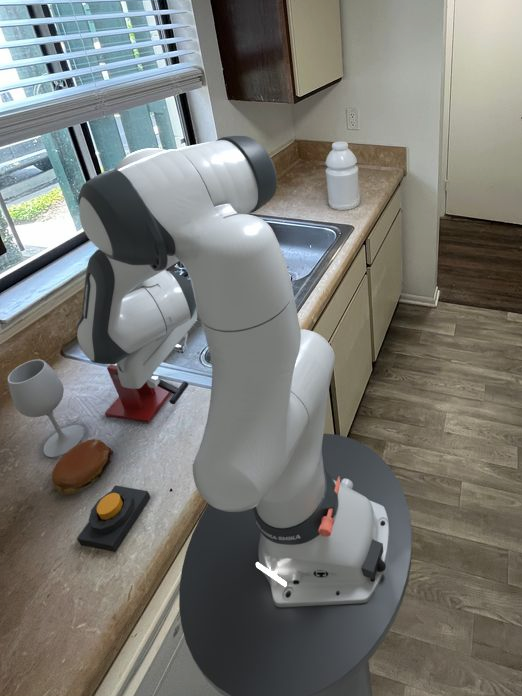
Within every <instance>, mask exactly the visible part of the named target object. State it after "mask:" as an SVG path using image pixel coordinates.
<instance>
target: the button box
mask: <svg viewBox="0 0 522 696" xmlns="http://www.w3.org/2000/svg"><path fill="white" fill-rule="evenodd" d="M111 493H117V494H119V496H120V498H121V500H122V502H123V504H122V508H121V510H120V511H119V512H118V514H117V515H115V516H114V517H113V518H111V519H108V520H102V519H101V518H100V517H99V515H98V513H97V505H98V503H99V502H100V501H101V499H103V498H104V497H105V496H106V495H108V494H111ZM150 500H151V496H150V493H149V491H148V490H145V489H138V488H132V487H127V486H122V485H116V484H115V485H114V486H113V488H112V489H111V490H110V491H109V492H107V493H106V494H104V495H103V496H102V497H101V498H99V499H97V501H96V503H95V504H94V506H92V508H91V510H90V514H89V517H88V522H87V524H86V525H85V526H84V528H83V529H82V530H81V532H80V533H79V534H78V536H77V537H76V540H77V542H78V543H79V545H80V546H82V547H87V548H90V549H91V548H93V549H97V550H101V551H107V552H112V553H117V551H118V550H119V548H120V547H121V545H122V544H123V542H124V540H125V539H126V537H127V535H128V534H129V532H130V531H131V529H132V528H133V527H134V525H135V523H136V522H137V520H138V519H139V517H140V516H141V514H142V512H143V511H144V509H145V508H146V506H147V504H148V503H149V501H150Z"/></svg>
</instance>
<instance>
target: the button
mask: <svg viewBox="0 0 522 696" xmlns="http://www.w3.org/2000/svg"><path fill="white" fill-rule="evenodd" d="M105 495H106V494H105ZM105 495H104V496H105ZM100 499H101V498H100ZM122 504H123V502H122V500H121V498H120V496H119V494H117V493H111V494H108V495H106V496H105V497H104V498H103V499H101V501H100V502H99V503H98V505H97V513H98V515H99V517H100V518H101V519H102V520H108V519H111V518H113V517H114V516H115V515H117V514H118V512H119V511H120V510H121V508H122Z"/></svg>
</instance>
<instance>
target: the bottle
mask: <svg viewBox="0 0 522 696" xmlns="http://www.w3.org/2000/svg"><path fill="white" fill-rule="evenodd" d="M324 163H325V166H327V168H325V179H326V187H327V189H326V190H327V196H328V197H327V198H328V205H329V206H330V208H332V209H334V210H339V211H347V210H351V209H355V208H356V207H358V206H359V205H360V203H361V196H360V195H361V194H360V179H359V177H360V176H359V167H358V166H357V165H356V164H357V163H358V159H357V157H356V155H355V153H354V152H352V150H351V149H350V148H349V143H348V142H347V141H344V140H343V141H342V140H339V141H335V142H333V143H332V144H331V150H330V151H329V153H328V154H327V156H326V159H325V161H324Z"/></svg>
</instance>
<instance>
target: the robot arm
mask: <svg viewBox="0 0 522 696" xmlns="http://www.w3.org/2000/svg"><path fill="white" fill-rule="evenodd" d="M277 184H278V175H277V170H276V167H275V163H274V161H273V159H272V157H271V155H270V154H269V152H268V151H267V150H266V148H265V147H264V146H263V145H262V144H260V143H259V142H258V141H256V139H254V138H252V137H251V136H247V135H230V136H221V137H219V138H217V139H216V140H213V141H207V142H202V143H196V144H192V145H188V146H184V147H180V148H177V149H174V148H170V149H163V148H157V147H156V148H154V147H150V148H142V149H139V150H135V151H133V152H131V153H129V154H128V155H126V156H124V157H123V158H122V159H121V160H120V161H119V162H118V164H117V165H116V167H115V168H114V167H113V168H109V169H107V170H105V171H103V172H101V173H100V174H97V175H95V176H93V177H92V178H90V179H89V180H87V181H86V182H85V183H83V184H82V186H81V188H80V190H79V193H78V196H77V202H78V215H79V222H80V224H81V227H82V230H83V232H84V233H85V235H86V237H87V238H88V240H89V241H90V242H91V243H92V244H93V245H94V246H95V247H96V248H97V249H96V250H95V251H94V252H93V254H92V255H91V256H90V257H89V259H88V262H87V267H86V270H85V279H84V289H83V298H82V299H83V300H82V309H81V310H82V311H81V316H80V318H79V320H78V323H77V326H76V331H77V333H76V337H77V342H78V345H79V347H80V350H81V352H82V353H83V355H84V356H85V357H86V358H87V359H89V360H90V362H91V363H93V364H99V365H108V366H109V365H117V370H118V375H119V379H120V383H121V385H122V386H123V387H125V388H130V389H139V388H141V387H142V386H143V385H144V384H145V382H147V384H148V386H149V387H150V388H156V387H157V385H158V384H159V383H160V380H159V379H160V376H157V375H154V373H155V372H156V370H158V368H159V367H160V365H162V363H163V362H164V361H165V360H166V359H167V357H168V356H169V355H170V354H171V353H172V352H173V350H174V349H175V350H176V353H177V354H185V352H186V350H187V349H188V345H187V341H188V337H189V336H188V335H189V333H188V332H189V331H190V330H191V329H192V327H193V326H194V325H195V323H197V319H198V316H199V320H200V323H201V326H202V330H203V333H204V337H205V340H206V344H207V348H208V353H209V356H210V361H211V387H210V398H209V407H208V413H207V419H206V423H205V428H204V431H203V435H202V439H201V442H200V445H199V448H198V451H197V453H196V456H195V457H194V461H193V463H192V477H193V481H194V485H195V488H196V489H197V492H198V493H199V495H200V496H201V498H202V499H203V500H204V501H205V502H206V503H207V505H208V504H210V505H211V506H213V507H215V508H217V509H219V510H222V511H226V512H241V511H246V510H249V509H252V508H253V509H254V514H255V518H256V523H257V525H258V528H259V530H260V532H261V537H260V541H259V548H258V555H259V562H260V564H259V563H258V562H257V563H256V566H257V568H259V569H260V570H262V571H263V573H264V575H265V576H266V578H267V579H268V581H269V583H270V585H271V592H272V598H273V602H274V604H275V605H276V606H277V607H298V606H318V605H337V604H357V603H366V602H368V601H369V599H370V598H371V597H372V595H373V594H374V592H375V591H376V589H377V587H378V585H379V583H380V580H381V577H382V575H383V571H384V570H385V568H386V565H385V564H386V558H387V553H388V546H389V522H388V517H387V513H386V510H385V508H384V507H383V506H382V505H380V504H377V503H375V502H372V501H370V500H368V499H367V498H366V497H365V496H363V495H361V494H359V493H358V492H356V491H354V490H352V488H353V483H352V482H351V481H350V480H349V479H343V480H342V481H341V483H340V476H339V477H338V479H337V481H335V480H333V479H332V478H331V476H330V475H329V474H328V472H327V471H326V470H325V468H324V467H323V458H322V441H323V434H325V425H326V416H327V406H328V397H329V390H330V385H331V380H332V376H333V372H334V368H335V364H336V355H335V352H334V349H333V347H332V346H331V344H330V343H329V342H328V341H327V339H326V338H325V337H324V336H322V335H321V334H319V333H317V332H315V331H313V330H310V329H304V328H301V326H300V320H299V315H298V310H297V304H296V299H295V294H294V288H293V284H292V279H291V274H290V271H289V267H288V265H287V261H286V259H285V255H284V253H283V250H282V248H281V245H280V243H279V241H278V238H277V236H276V234H275V231H274V230H273V228H272V227H271V225H270V224H269V223H268V222H267V221H265V220H264V219H262V218H261V217H259V216H256V215H253V214H252V213H255V212H257V211H258V210H260V209H261V208H263V207H264V206H265V205H267V204H268V203H269V202H270V201H271V200H272V198H274V197H275V194H276V193H277V192H276V191H277ZM178 262H179V263H180V264H182V266H183V267H184V269H185V271H186V272H187V274H188V277H189V279H188V278H187V277H186V276H184V275H182V274H179V273H176V272H174V271H171V270H167V269H169V268H171V267H173V266H174V265H176V264H177V263H178ZM154 376H155V377H154ZM382 523H385V525H384V526H381V524H382ZM370 579H372V580H374V579H375V581H374V582H371V581H370ZM288 593H291V596H290V597H289V598H286V596H287V594H288ZM337 594H339V595H338V596H337Z"/></svg>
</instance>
